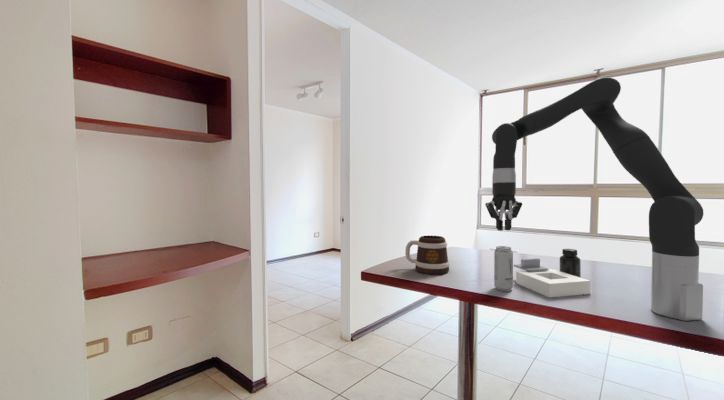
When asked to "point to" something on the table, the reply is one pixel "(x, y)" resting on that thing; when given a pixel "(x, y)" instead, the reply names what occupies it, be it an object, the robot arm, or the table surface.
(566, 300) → the table surface
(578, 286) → the socket plate
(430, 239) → the mug
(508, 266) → the energy drink can
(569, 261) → the supplement bottle
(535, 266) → the grey stepped block
